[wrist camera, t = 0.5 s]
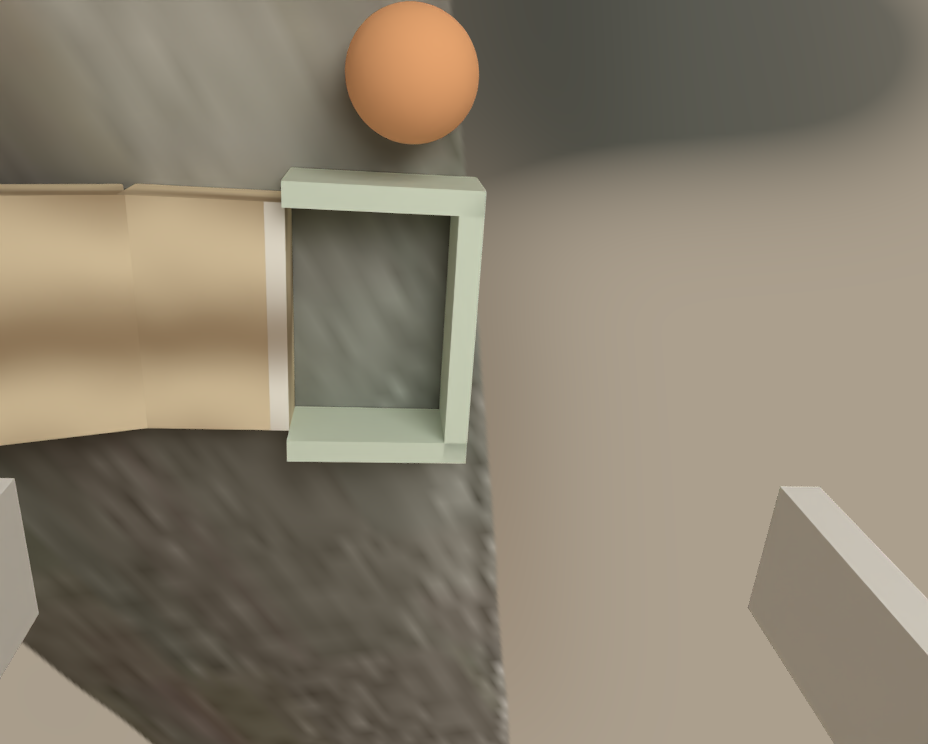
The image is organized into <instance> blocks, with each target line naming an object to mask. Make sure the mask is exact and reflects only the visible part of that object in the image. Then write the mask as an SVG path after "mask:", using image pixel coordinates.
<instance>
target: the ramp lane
mask: <svg viewBox="0 0 928 744" xmlns="http://www.w3.org/2000/svg"><path fill="white" fill-rule="evenodd" d="M294 408H295V381H294V322H293V262H292V208H282V207H281V191H272V190H252V189H233V188H213V187H193V186H173V185H154V184H134V185H132V186H131V187H129V188H127V189H125V190H124V189H123V185H122V184H0V446H1V445H10V444H18V443H26V442H35V441H43V440H52V439H60V438H69V437H77V436H85V435H94V434H102V433H111V432H119V431H128V430H136V429H145V428H170V429H232V430H282V431H289V429H290V425H291V421H292V416H293V412H294Z"/></svg>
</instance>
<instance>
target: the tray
mask: <svg viewBox="0 0 928 744" xmlns="http://www.w3.org/2000/svg"><path fill="white" fill-rule="evenodd" d="M485 205H486V190H485V189H484V187H483V186H482V184H481V183H480V182H479V180H478V179H477V178H476V177H462V176H444V175H425V174H407V173H389V172H370V171H352V170H333V169H315V168H296V167H291V168H290V169H289V171H288V172H287V173H286V175H285V176H284V177H283V179H282V180H281V207H282V208H301V209H322V210H342V211H363V212H384V213H405V214H425V215H446V216H451V221H450V237H449V254H448V270H447V287H446V303H445V319H444V336H443V352H442V369H441V385H440V401H439V409H412V408H361V407H310V406H295V408H294V412H293V416H292V421H291V425H290V429H289V433H288V437H287V461H289V462H375V463H461V464H465V463H466V450H467V437H468V424H469V411H470V398H471V385H472V372H473V359H474V347H475V334H476V321H477V308H478V295H479V282H480V269H481V255H482V243H483V230H484V217H485Z"/></svg>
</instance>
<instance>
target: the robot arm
mask: <svg viewBox="0 0 928 744" xmlns="http://www.w3.org/2000/svg"><path fill="white" fill-rule="evenodd" d="M748 609H749V610H750V612H751V613H752V615H753V617H754V618H755V620H756V621H757V623H758V624H759V626H760V627H761V629H762V631H763V632H764V634H765V635H766V637H767V639H768V640H769V642H770V643H771V645H772V646H773V648H774V649H775V651H776V653H777V654H778V656H779V658H780V659H781V661H782V662H783V664H784V665H785V667H786V668H787V670H788V672H789V673H790V675H791V676H792V678H793V679H794V681H795V683H796V684H797V686H798V687H799V689H800V690H801V692H802V694H803V695H804V697H805V698H806V700H807V701H808V703H809V705H810V706H811V708H812V709H813V711H814V713H815V714H816V716H817V717H818V719H819V720H820V722H821V724H822V725H823V727H824V728H825V730H826V732H827V733H828V735H829V736H830V738H831V739H832V741H833V743H834V744H928V599H927V598H926V597H925V596H924V595H923V594H922V593H921V591H920V590H919V589H918V588H917V587H916V586H915V585H914V584H913V583H912V582H911V581H910V580H909V579H908V578H907V577H906V576H905V575H904V574H903V573H902V572H901V571H900V570H899V569H898V568H897V567H896V565H895V564H894V563H893V562H891V560H890V559H889V558H888V557H887V556H886V555H885V554H884V553H883V552H882V551H881V550H880V549H879V548H878V547H877V546H876V545H875V544H874V543H873V542H872V541H871V539H870V538H869V537H867V535H866V534H865V533H864V532H863V531H862V530H861V529H860V528H859V527H858V526H857V525H856V524H855V523H854V522H853V521H852V520H851V519H850V518H849V517H848V516H847V515H846V513H845V512H844V511H843V510H842V509H841V508H840V507H839V506H838V505H837V504H836V503H835V502H834V501H833V500H832V499H831V498H830V497H829V496H828V495H827V494H826V493H825V492H824V491H823V490H822V489H821V487H793V486H792V487H790V486H787V487H786V486H780V489H779V493H778V496H777V500H776V504H775V508H774V511H773V515H772V519H771V523H770V526H769V530H768V534H767V538H766V541H765V545H764V549H763V553H762V556H761V561H760V564H759V568H758V571H757V575H756V579H755V583H754V586H753V590H752V594H751V598H750V601H749V605H748ZM38 614H39V612H38V607H37V601H36V595H35V590H34V584H33V579H32V573H31V568H30V562H29V556H28V551H27V545H26V540H25V534H24V529H23V523H22V517H21V512H20V506H19V501H18V495H17V490H16V484H15V478H0V678H1V677H2V675H3V673H4V672H5V670H6V668H7V667H8V665H9V663H10V661H11V660H12V658H13V656H14V655H15V653H16V651H17V650H18V648H19V646H20V645H21V643H22V641H23V639H24V638H25V636H26V634H27V633H28V631H29V629H30V628H31V626H32V624H33V623H34V621H35V619H36V617H37V616H38Z"/></svg>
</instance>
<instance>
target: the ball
mask: <svg viewBox="0 0 928 744" xmlns="http://www.w3.org/2000/svg"><path fill="white" fill-rule="evenodd" d="M345 80H346V86H347V90H348V93H349V97H350V99H351V102H352V104H353V106H354V108H355V109H356V111H357V113H358V114H359V116H360V117H361V118H362V120H363V121H364V122H365V123H366V124H367V125H368V126H369V127H370V128H371V129H373V130H374V131H375V132H376V133H378V134H380V135H381V136H383V137H385V138H387V139H389V140H392V141H395V142H399V143H403V144H423V143H429V142H432V141H435V140H438V139H440V138H442V137H444V136H446V135H447V134H449V133H450V132H452V131H453V130H454V129H455V128H456V127H457V126H458V125H459V124H460V123H461V122H462V121H463V120H464V118H465V117H466V116H467V114H468V113H469V111H470V109H471V107H472V105H473V103H474V100H475V97H476V93H477V90H478V83H479V67H478V60H477V55H476V52H475V49H474V46H473V44H472V42H471V40H470V38H469V36H468V34H467V33H466V31H465V30H464V28H463V27H462V26H461V25H460V24H459V23H458V22H457V21H456V20H455V19H454V18H453V17H452V16H451V15H449V14H448V13H446V12H445V11H443V10H442V9H440V8H437V7H435V6H433V5H430V4H427V3H422V2H416V1H405V2H398V3H394V4H391V5H388V6H386V7H383V8H381V9H379V10H378V11H376V12H375V13H373V14H372V15H371V16H370V17H368V18H367V19H366V20H365V21H364V22H363V23H362V25H361V26H360V27H359V28H358V30H357V31H356V33H355V35H354V37H353V39H352V41H351V43H350V46H349V49H348V52H347V57H346V63H345Z"/></svg>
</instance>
